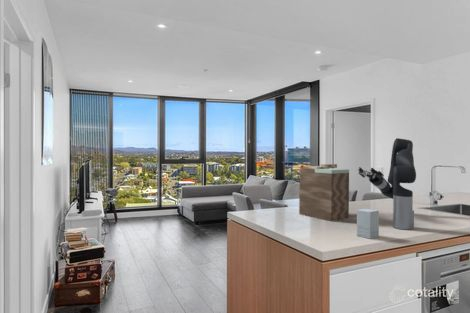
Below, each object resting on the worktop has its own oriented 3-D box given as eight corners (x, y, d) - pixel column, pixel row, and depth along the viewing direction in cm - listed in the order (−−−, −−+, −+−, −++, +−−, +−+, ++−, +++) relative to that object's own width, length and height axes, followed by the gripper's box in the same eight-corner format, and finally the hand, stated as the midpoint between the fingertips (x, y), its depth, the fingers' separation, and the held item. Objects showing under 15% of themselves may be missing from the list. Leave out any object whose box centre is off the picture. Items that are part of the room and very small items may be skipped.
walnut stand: (316, 211, 219) (316, 167, 219) (348, 218, 198) (349, 169, 197) (299, 214, 210) (299, 168, 210) (331, 221, 189) (331, 170, 189)
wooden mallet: (328, 167, 227) (328, 164, 227) (341, 168, 218) (341, 164, 218) (303, 168, 212) (303, 164, 212) (316, 168, 203) (316, 164, 203)
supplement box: (379, 237, 154) (379, 210, 153) (370, 239, 149) (370, 211, 149) (365, 233, 160) (365, 208, 160) (356, 235, 155) (356, 209, 155)
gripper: (369, 175, 213) (356, 163, 205) (390, 176, 201) (377, 163, 194) (366, 185, 211) (353, 173, 203) (386, 187, 199) (373, 174, 192)
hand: (364, 168), depth 199 cm, fingers open, 8 cm apart
